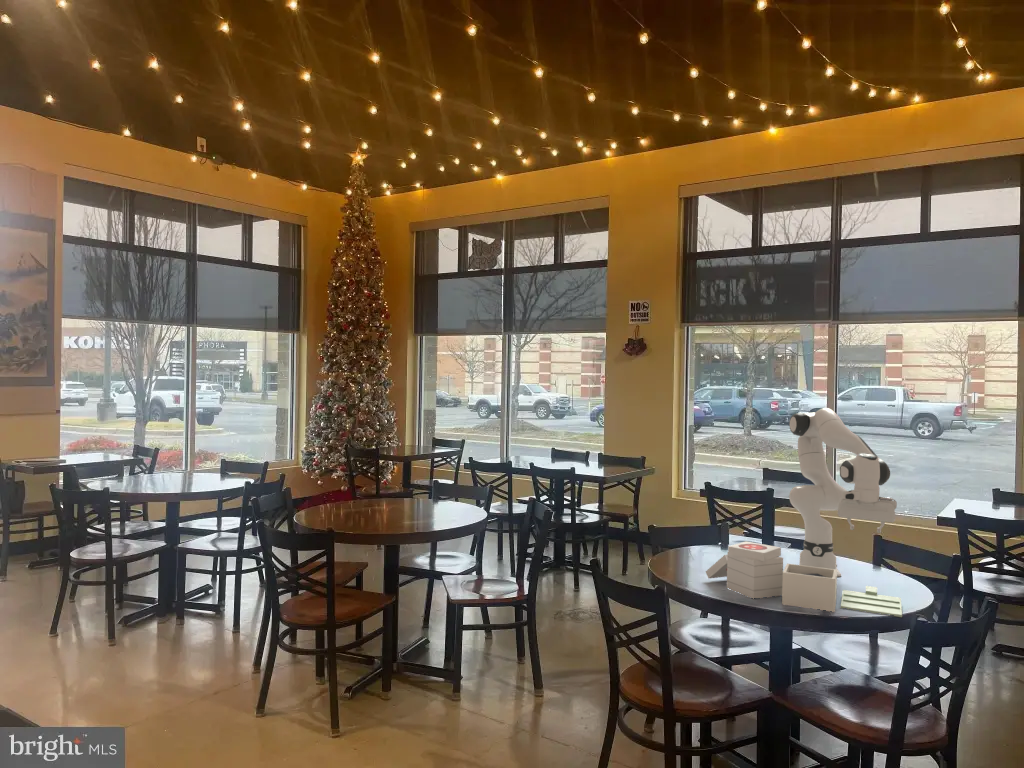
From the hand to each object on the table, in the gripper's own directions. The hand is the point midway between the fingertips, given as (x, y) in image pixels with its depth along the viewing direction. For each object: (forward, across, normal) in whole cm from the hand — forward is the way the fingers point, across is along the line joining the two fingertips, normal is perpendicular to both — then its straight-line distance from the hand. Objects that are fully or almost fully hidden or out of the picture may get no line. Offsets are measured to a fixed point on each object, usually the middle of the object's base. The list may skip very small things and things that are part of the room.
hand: (865, 531), depth 276 cm
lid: (+27, -3, +7) cm, 28 cm away
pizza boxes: (+27, +43, +10) cm, 52 cm away
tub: (+26, +18, +17) cm, 36 cm away
